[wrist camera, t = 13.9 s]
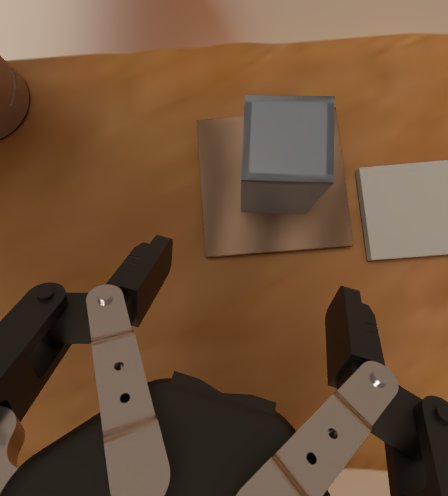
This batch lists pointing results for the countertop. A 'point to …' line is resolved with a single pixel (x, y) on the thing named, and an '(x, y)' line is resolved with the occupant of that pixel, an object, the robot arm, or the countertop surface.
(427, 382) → the countertop surface
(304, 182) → the grey upright block
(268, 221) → the walnut board
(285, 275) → the countertop surface
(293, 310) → the countertop surface
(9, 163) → the countertop surface
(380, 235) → the rubber mat
